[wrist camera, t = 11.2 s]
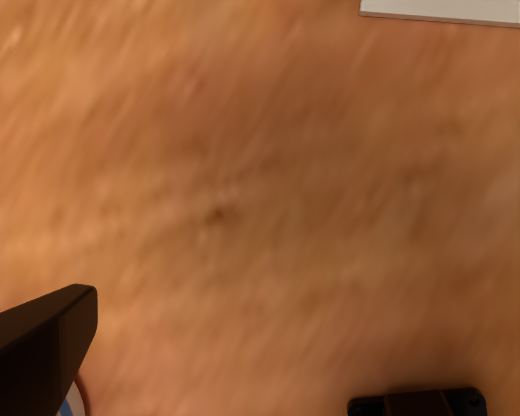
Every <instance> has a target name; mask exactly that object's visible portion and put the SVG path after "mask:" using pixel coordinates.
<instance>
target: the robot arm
mask: <svg viewBox="0 0 520 416" xmlns="http://www.w3.org/2000/svg"><path fill="white" fill-rule="evenodd" d="M97 324H98V300H97V290H96V288H95V287H94V286H90V285H83V284H72V285H69V286H67V287H64V288H61V289H59V290H56V291H54V292H51V293H49V294H46V295H44V296H41V297H39V298H36V299H34V300H31V301H29V302H26V303H24V304H21V305H18V306H16V307H13V308H11V309H8V310H6V311H3V312H1V313H0V416H56V415H57V413H58V411H59V409H60V408H61V406H62V404H63V402H64V400H65V398H66V396H67V394H68V392H69V390H70V388H71V385H72V383H73V381H74V379H75V377H76V375H77V372H78V370H79V368H80V366H81V364H82V362H83V359H84V357H85V355H86V353H87V351H88V349H89V346H90V344H91V342H92V340H93V338H94V336H95V333H96V330H97ZM472 397H477V399H476V400H475V401H469V399H470V398H472ZM354 409H361V411H360V412H354V411H353V410H354ZM347 413H348V416H487V409H486V402H485V398H484V396H483V395H482V393H481V392H480V391H479V390H478V389H476V388H471V387H469V388H460V389H450V390H440V391H439V390H430V391H420V392H410V393H400V394H390V395H387V396H381V397H371V398H361V399H354V400H351V401H350V402H349V403H348V405H347Z"/></svg>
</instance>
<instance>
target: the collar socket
mask: <svg viewBox="0 0 520 416" xmlns="http://www.w3.org/2000/svg"><path fill="white" fill-rule="evenodd" d="M359 15H361V16H374V17H387V18H399V19H412V20H425V21H438V22H451V23H464V24H476V25H489V26H502V27H515V28H520V0H361V2H360V9H359Z"/></svg>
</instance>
